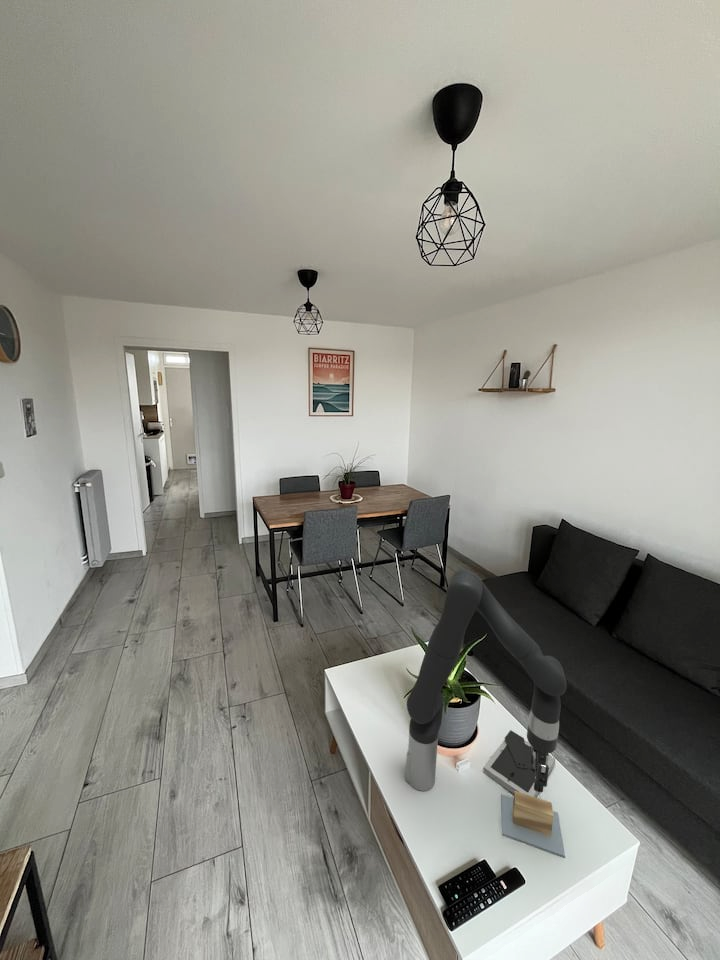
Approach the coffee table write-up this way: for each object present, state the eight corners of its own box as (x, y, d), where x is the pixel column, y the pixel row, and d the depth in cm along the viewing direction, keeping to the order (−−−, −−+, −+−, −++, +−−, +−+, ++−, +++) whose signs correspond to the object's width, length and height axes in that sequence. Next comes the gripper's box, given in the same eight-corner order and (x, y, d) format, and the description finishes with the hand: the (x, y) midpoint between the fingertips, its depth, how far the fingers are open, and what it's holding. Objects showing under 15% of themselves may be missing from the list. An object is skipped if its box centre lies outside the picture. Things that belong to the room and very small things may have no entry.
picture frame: (510, 736, 139) (483, 772, 125) (510, 730, 139) (483, 765, 125) (555, 763, 128) (531, 806, 114) (555, 756, 128) (531, 797, 113)
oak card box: (550, 836, 106) (553, 816, 104) (513, 823, 109) (515, 803, 108) (548, 822, 109) (551, 802, 108) (512, 810, 113) (514, 790, 111)
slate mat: (502, 835, 106) (502, 833, 106) (501, 795, 117) (501, 794, 117) (564, 857, 101) (565, 856, 101) (557, 814, 112) (557, 812, 112)
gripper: (562, 753, 96) (554, 805, 99) (553, 712, 109) (547, 759, 112) (530, 744, 98) (524, 795, 101) (526, 705, 112) (520, 751, 114)
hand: (536, 776), depth 107 cm, fingers open, 8 cm apart
